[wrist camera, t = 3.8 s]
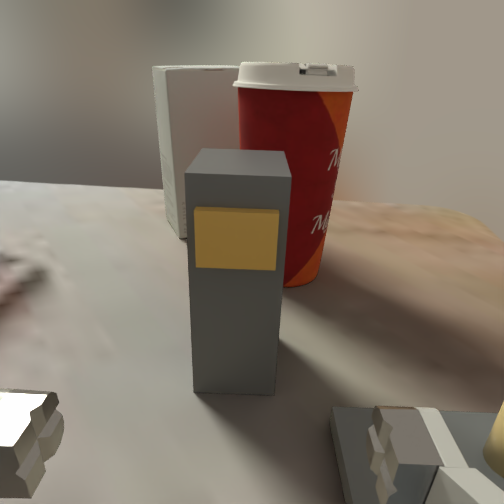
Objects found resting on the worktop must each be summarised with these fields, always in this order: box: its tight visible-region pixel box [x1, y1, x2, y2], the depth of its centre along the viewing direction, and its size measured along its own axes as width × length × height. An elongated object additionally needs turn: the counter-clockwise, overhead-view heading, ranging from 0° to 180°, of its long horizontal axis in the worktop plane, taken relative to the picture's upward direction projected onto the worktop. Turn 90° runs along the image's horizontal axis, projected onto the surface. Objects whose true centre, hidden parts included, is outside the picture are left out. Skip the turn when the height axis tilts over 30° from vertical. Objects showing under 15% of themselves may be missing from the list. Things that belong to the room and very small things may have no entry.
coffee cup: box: [233, 62, 359, 287], centre depth 28 cm, size 8×8×15 cm
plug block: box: [184, 148, 292, 395], centre depth 19 cm, size 4×6×11 cm
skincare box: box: [152, 65, 240, 239], centre depth 36 cm, size 8×6×15 cm
